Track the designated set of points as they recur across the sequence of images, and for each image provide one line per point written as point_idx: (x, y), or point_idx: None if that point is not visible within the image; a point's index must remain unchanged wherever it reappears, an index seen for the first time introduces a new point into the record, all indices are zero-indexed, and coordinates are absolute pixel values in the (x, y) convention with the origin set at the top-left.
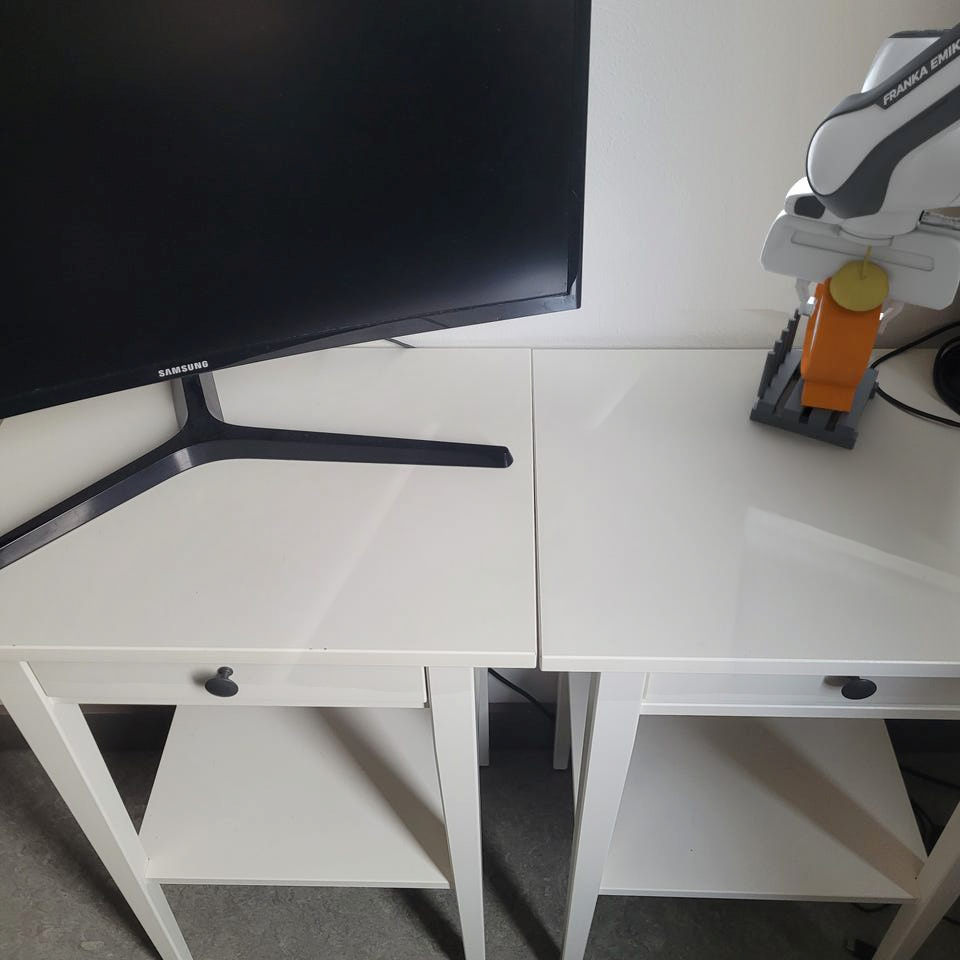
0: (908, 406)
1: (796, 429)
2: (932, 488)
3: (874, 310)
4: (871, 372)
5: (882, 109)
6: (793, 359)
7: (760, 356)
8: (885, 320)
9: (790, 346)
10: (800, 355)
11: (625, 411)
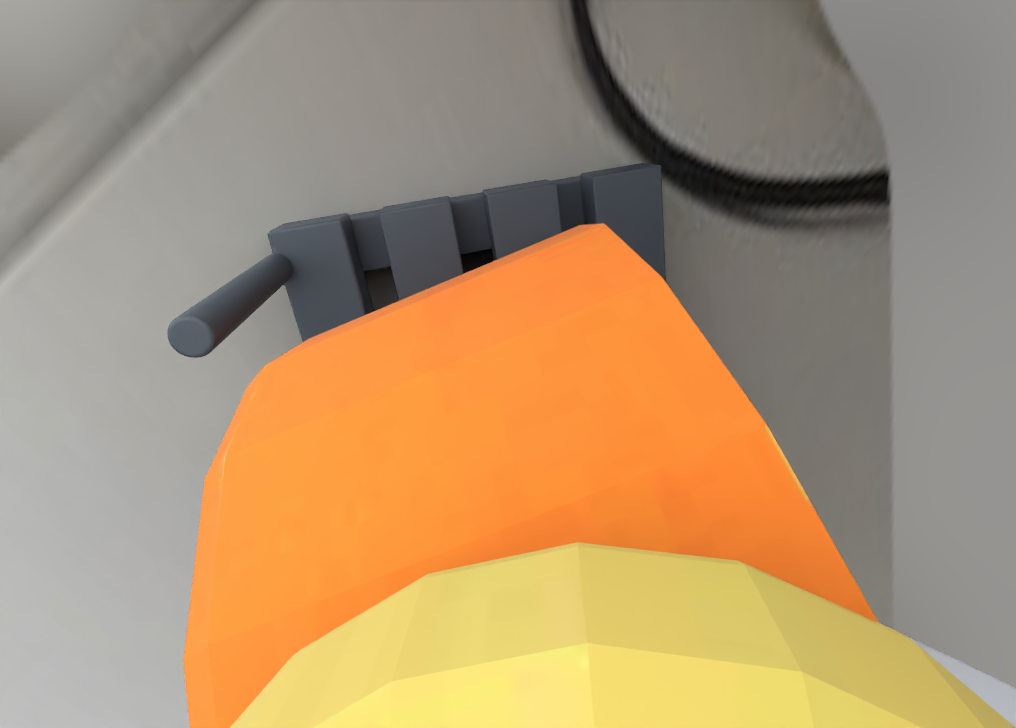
0: (757, 177)
1: None
2: (853, 506)
3: None
4: (638, 202)
5: None
6: (338, 320)
7: (170, 200)
8: None
9: (282, 284)
10: (343, 270)
11: (110, 725)
